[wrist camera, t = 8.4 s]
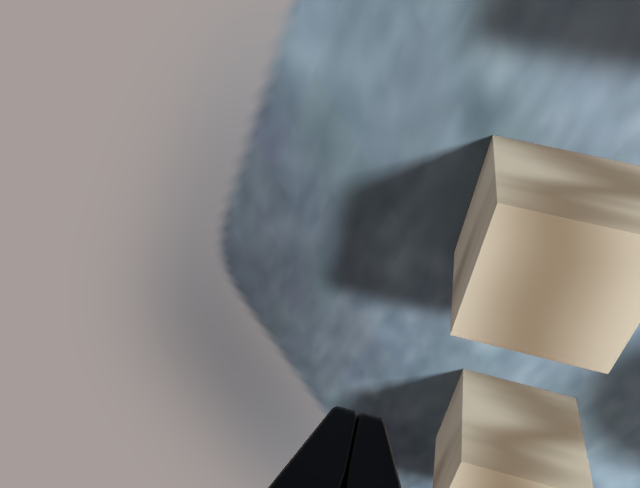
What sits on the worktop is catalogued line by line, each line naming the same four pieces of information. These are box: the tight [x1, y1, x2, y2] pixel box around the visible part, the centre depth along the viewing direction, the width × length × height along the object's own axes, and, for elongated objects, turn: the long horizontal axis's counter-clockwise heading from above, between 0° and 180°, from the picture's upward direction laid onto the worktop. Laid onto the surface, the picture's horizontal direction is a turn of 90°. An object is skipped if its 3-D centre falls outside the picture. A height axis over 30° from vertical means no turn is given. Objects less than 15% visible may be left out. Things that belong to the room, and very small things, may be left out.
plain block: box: [450, 135, 640, 374], centre depth 19 cm, size 5×5×5 cm
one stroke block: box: [433, 369, 593, 488], centre depth 25 cm, size 5×5×5 cm
